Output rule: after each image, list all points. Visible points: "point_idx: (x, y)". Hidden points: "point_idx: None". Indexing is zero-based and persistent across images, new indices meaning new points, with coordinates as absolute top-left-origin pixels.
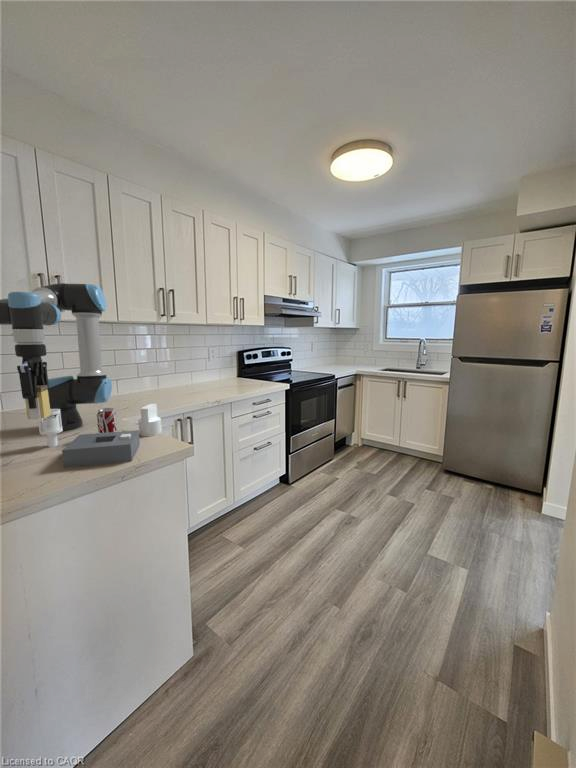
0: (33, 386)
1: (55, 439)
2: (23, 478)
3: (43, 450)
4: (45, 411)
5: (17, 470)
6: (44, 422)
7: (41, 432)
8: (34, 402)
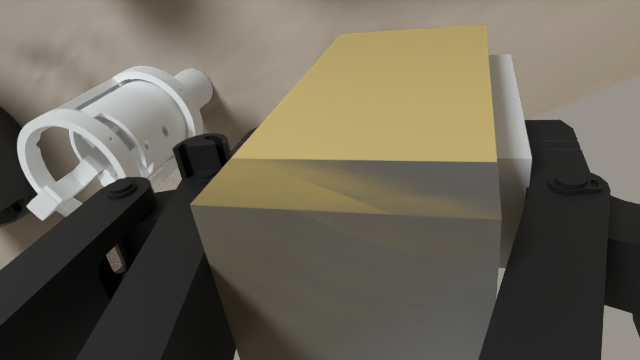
0: (595, 339)
1: (181, 82)
2: (627, 14)
3: (251, 101)
4: (441, 45)
5: None
6: (155, 156)
7: None
8: (560, 158)
